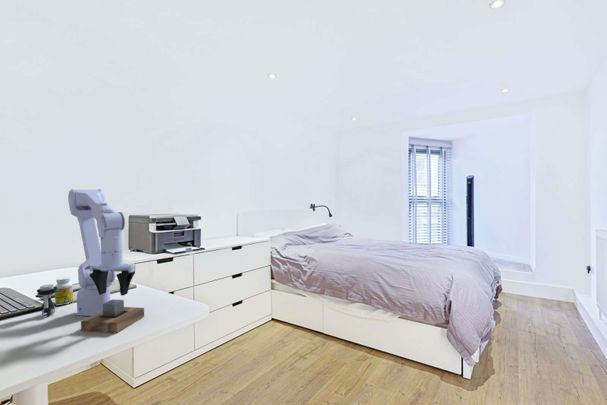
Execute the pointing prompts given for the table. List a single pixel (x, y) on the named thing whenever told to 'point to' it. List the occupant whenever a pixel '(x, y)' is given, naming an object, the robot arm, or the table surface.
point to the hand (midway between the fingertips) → (113, 294)
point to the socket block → (112, 321)
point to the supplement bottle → (64, 291)
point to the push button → (47, 299)
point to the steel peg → (113, 308)
